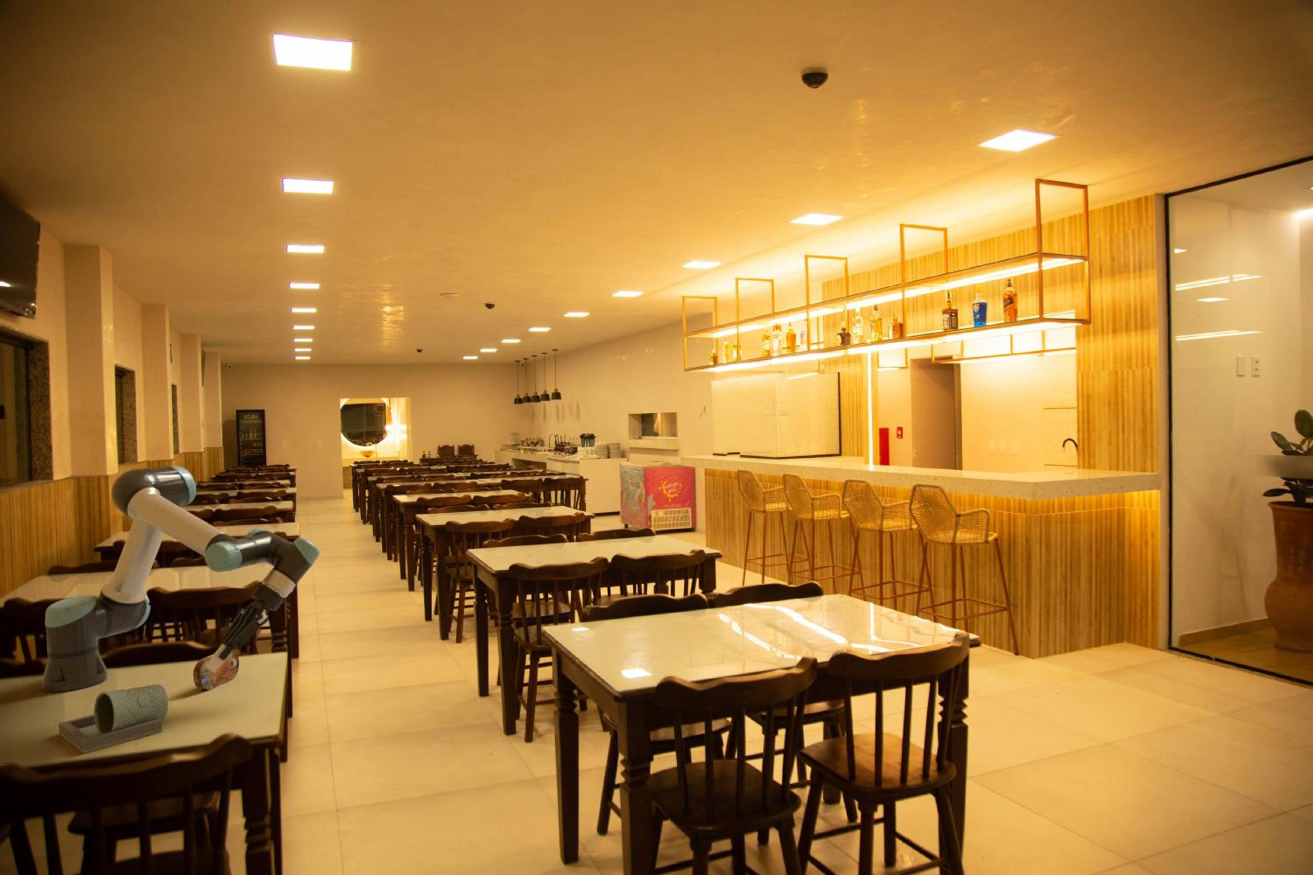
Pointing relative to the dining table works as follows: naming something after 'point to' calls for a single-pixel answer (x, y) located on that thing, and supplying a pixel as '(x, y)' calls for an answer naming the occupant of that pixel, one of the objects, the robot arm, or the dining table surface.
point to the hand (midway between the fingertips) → (209, 669)
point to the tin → (222, 675)
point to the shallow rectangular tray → (89, 738)
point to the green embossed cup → (129, 707)
